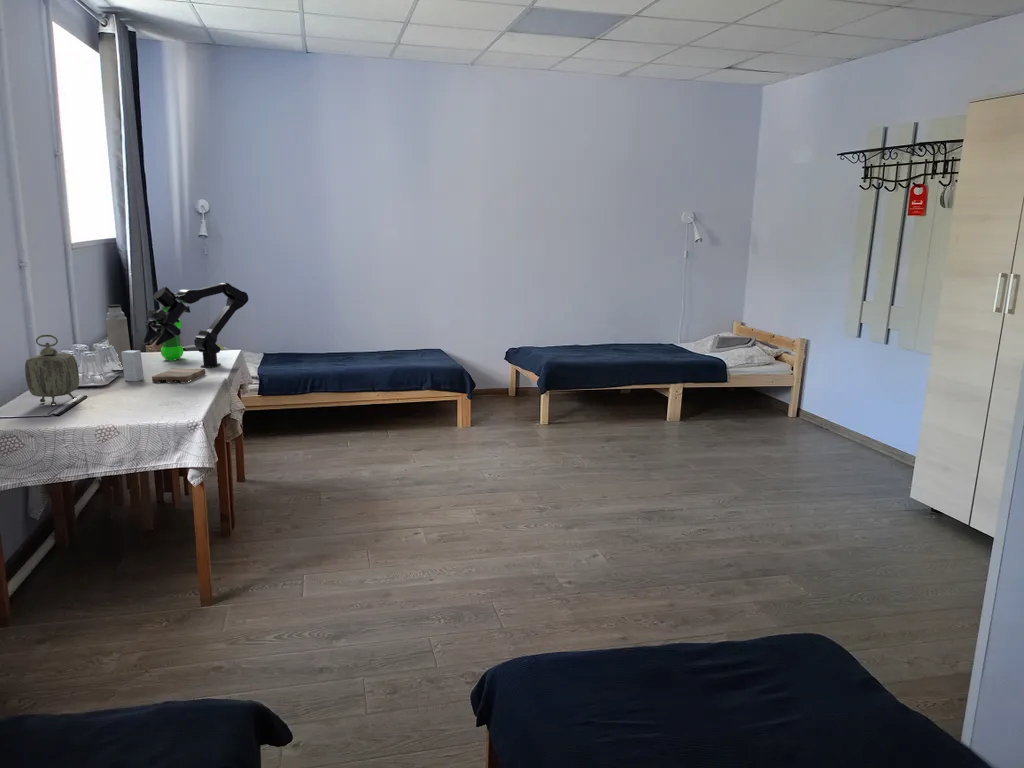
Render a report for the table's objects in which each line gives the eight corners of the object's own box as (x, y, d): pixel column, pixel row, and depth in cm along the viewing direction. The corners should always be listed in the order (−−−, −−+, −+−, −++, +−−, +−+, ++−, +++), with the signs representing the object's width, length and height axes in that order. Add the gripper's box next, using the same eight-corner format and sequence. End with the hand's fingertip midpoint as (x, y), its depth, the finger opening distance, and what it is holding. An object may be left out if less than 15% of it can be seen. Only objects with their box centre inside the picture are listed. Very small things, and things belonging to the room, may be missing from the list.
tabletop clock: (82, 400, 270) (73, 332, 264) (72, 406, 261) (62, 336, 256) (39, 402, 268) (28, 333, 262) (27, 408, 259) (16, 337, 253)
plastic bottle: (157, 359, 344) (151, 305, 339) (180, 356, 351) (175, 303, 346) (164, 362, 337) (158, 307, 332) (188, 359, 344) (182, 305, 338)
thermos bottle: (113, 367, 326) (105, 304, 320) (134, 366, 329) (126, 303, 322) (110, 371, 319) (102, 306, 312) (131, 370, 321) (123, 305, 315)
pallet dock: (173, 374, 313) (172, 368, 312) (205, 374, 312) (204, 368, 311) (152, 382, 297) (152, 376, 297) (186, 383, 296) (185, 376, 296)
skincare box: (144, 379, 303) (141, 350, 301) (137, 381, 299) (133, 352, 297) (131, 378, 305) (128, 350, 302) (124, 381, 301) (120, 351, 298)
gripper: (146, 300, 311) (123, 329, 305) (170, 303, 300) (147, 334, 294) (166, 317, 319) (144, 346, 313) (190, 320, 308) (168, 350, 302)
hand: (150, 343), depth 305 cm, fingers open, 9 cm apart
